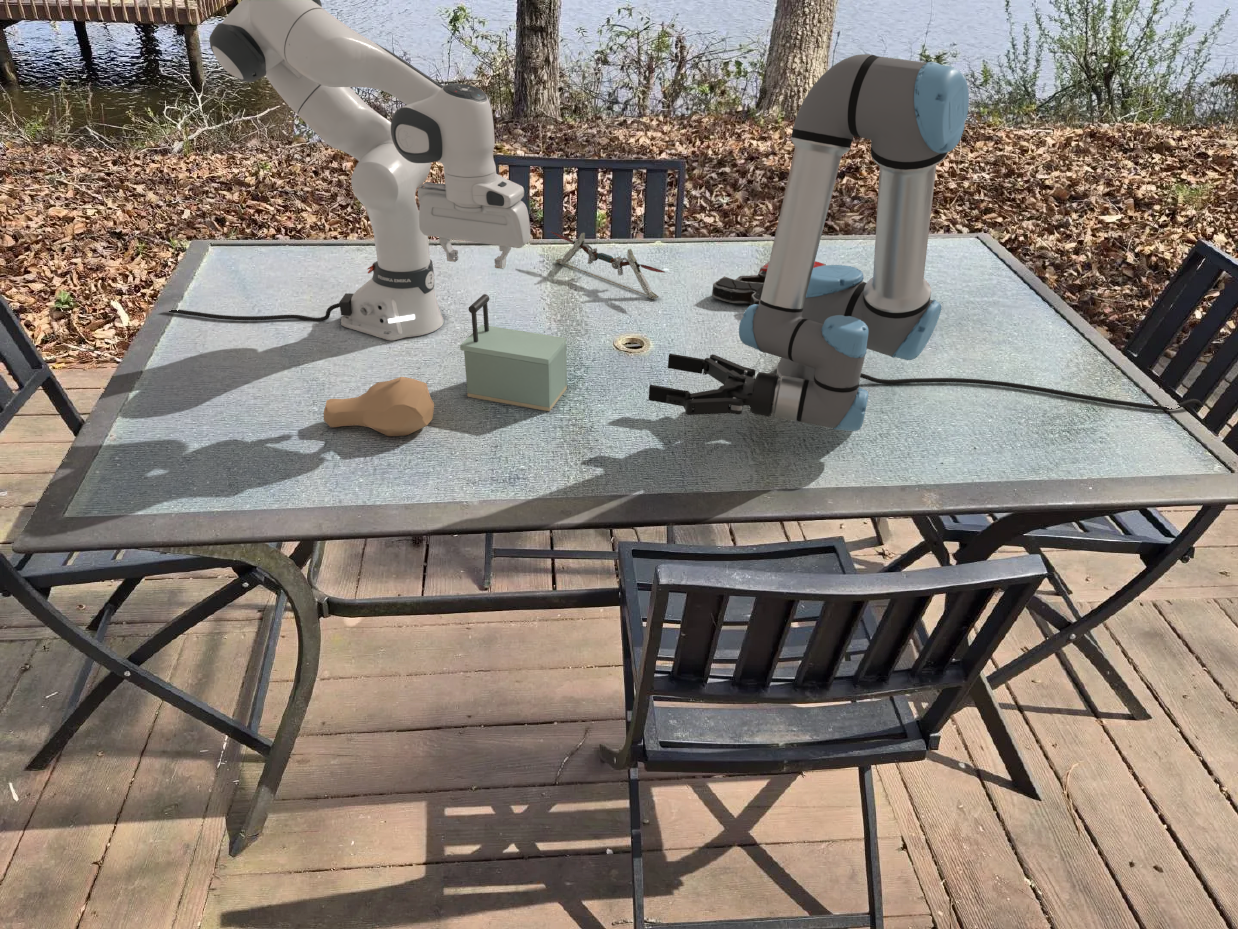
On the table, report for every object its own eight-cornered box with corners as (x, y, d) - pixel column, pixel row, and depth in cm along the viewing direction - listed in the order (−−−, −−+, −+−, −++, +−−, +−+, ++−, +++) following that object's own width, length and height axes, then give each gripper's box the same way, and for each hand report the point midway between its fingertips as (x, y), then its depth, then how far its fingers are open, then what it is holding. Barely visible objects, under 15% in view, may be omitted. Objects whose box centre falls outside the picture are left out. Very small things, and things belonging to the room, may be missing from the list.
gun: (708, 284, 207) (784, 305, 199) (760, 245, 229) (831, 262, 221) (706, 302, 209) (781, 323, 201) (758, 261, 231) (828, 278, 223)
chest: (467, 396, 169) (463, 351, 164) (488, 374, 177) (485, 330, 171) (549, 411, 165) (548, 365, 160) (567, 388, 173) (566, 343, 167)
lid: (460, 350, 164) (456, 308, 159) (481, 329, 171) (479, 288, 167) (548, 364, 160) (547, 322, 155) (566, 343, 167) (566, 301, 163)
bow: (666, 301, 209) (668, 260, 204) (661, 303, 208) (663, 262, 203) (554, 258, 231) (553, 221, 225) (549, 260, 229) (548, 222, 224)
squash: (434, 443, 155) (421, 404, 149) (325, 451, 157) (307, 413, 150) (443, 403, 163) (431, 365, 157) (339, 412, 164) (323, 374, 158)
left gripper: (408, 185, 151) (416, 262, 158) (518, 199, 146) (521, 277, 154) (425, 175, 156) (432, 250, 163) (532, 188, 151) (534, 265, 159)
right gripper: (761, 449, 146) (639, 425, 151) (782, 384, 166) (674, 366, 171) (767, 409, 142) (641, 387, 147) (788, 348, 162) (677, 330, 167)
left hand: (476, 264), depth 159 cm, fingers open, 8 cm apart
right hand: (659, 375), depth 159 cm, fingers open, 13 cm apart
